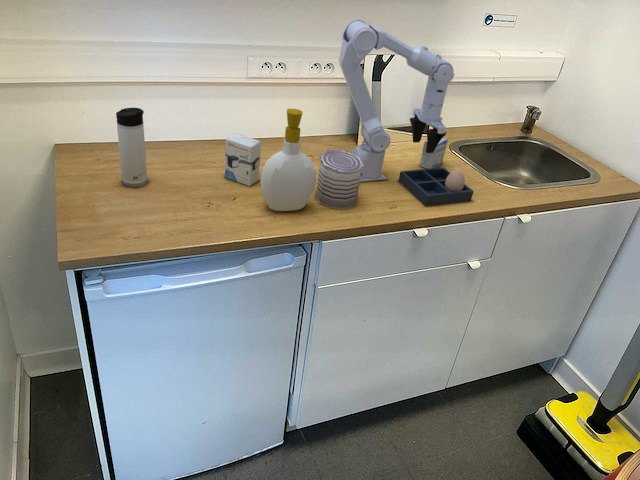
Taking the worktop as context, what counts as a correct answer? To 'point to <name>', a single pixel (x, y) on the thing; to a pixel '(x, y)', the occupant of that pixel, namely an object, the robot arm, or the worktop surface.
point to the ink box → (242, 159)
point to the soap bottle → (288, 171)
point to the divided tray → (432, 187)
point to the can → (338, 179)
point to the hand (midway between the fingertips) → (422, 147)
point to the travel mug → (132, 146)
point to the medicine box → (433, 155)
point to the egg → (455, 181)
